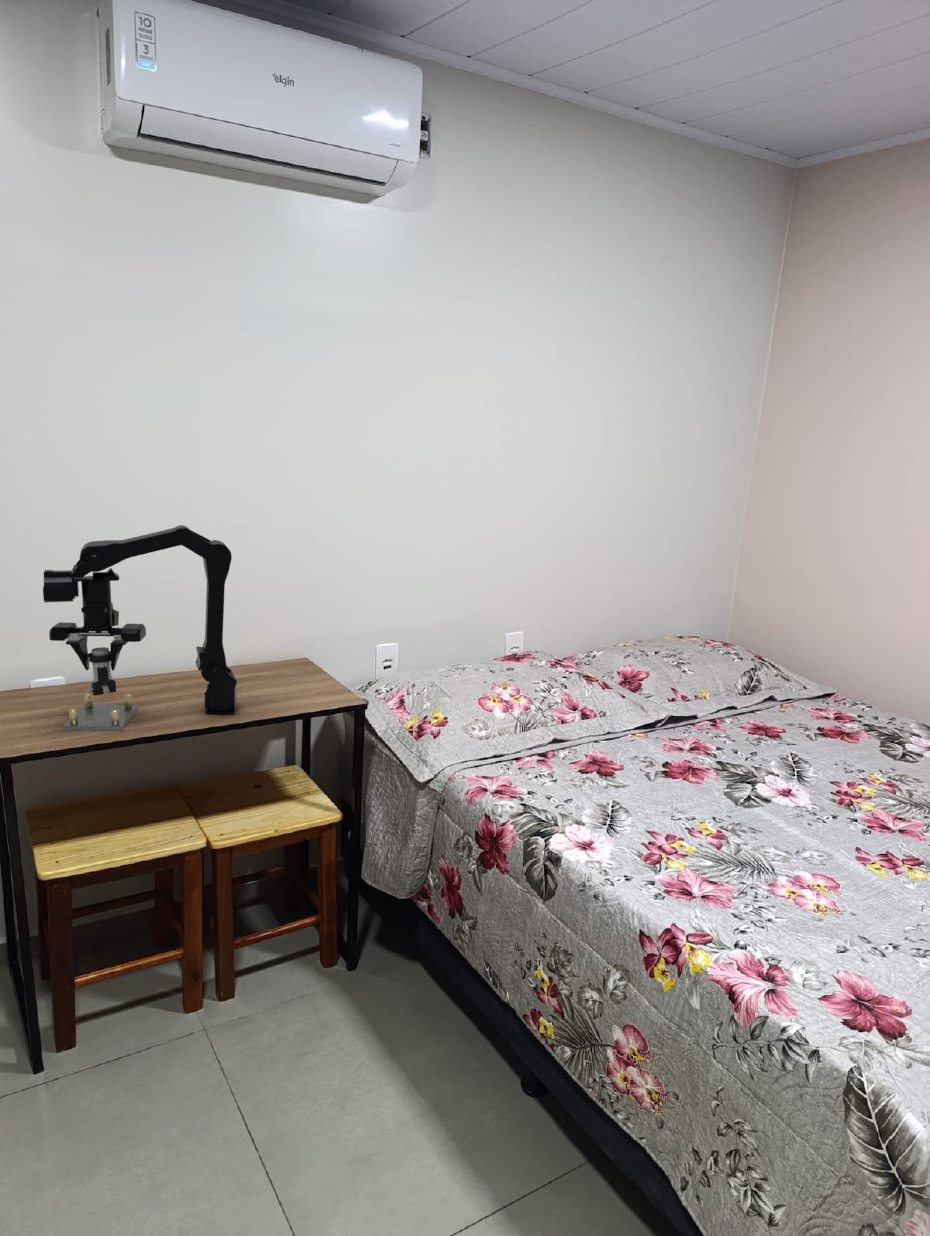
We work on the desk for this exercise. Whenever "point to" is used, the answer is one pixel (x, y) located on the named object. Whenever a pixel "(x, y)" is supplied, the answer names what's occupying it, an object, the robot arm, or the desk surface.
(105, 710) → the chassis
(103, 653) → the push button
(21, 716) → the desk surface
